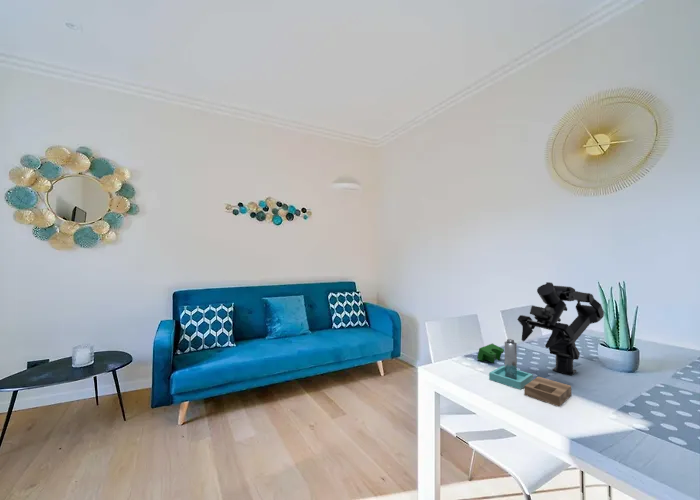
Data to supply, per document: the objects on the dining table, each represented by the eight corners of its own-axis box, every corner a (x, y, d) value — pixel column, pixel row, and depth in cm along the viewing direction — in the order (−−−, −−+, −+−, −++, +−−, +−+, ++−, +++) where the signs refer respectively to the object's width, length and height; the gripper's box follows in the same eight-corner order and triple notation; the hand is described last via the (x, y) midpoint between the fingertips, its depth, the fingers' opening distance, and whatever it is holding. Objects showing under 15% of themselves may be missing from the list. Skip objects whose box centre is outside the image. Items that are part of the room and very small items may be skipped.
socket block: (538, 384, 108) (538, 376, 108) (571, 394, 100) (571, 385, 100) (524, 394, 101) (524, 385, 101) (559, 406, 93) (559, 396, 93)
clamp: (489, 372, 130) (490, 357, 126) (477, 365, 135) (477, 350, 131) (504, 357, 136) (505, 342, 132) (492, 351, 140) (492, 336, 137)
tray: (502, 371, 120) (502, 365, 120) (532, 380, 111) (532, 374, 111) (489, 379, 113) (489, 372, 113) (520, 389, 105) (520, 382, 105)
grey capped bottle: (511, 374, 115) (511, 338, 115) (519, 379, 111) (519, 341, 111) (502, 375, 114) (502, 339, 114) (510, 380, 110) (509, 342, 110)
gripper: (520, 295, 123) (501, 324, 118) (568, 302, 106) (549, 336, 101) (533, 312, 126) (515, 342, 122) (582, 322, 109) (563, 356, 104)
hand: (533, 343), depth 112 cm, fingers open, 9 cm apart
